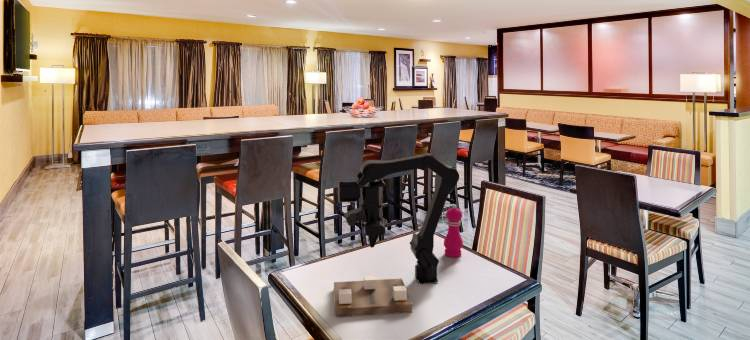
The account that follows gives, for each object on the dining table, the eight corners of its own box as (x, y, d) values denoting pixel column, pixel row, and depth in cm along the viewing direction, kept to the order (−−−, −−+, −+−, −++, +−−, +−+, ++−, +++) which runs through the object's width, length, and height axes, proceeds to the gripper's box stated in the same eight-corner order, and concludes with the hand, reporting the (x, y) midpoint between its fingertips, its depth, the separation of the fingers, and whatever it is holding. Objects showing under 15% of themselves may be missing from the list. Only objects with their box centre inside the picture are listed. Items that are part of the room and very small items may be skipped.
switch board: (401, 285, 143) (401, 278, 142) (412, 312, 126) (412, 304, 126) (334, 289, 140) (333, 281, 140) (335, 317, 124) (335, 308, 123)
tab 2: (375, 284, 137) (375, 275, 137) (376, 288, 134) (376, 279, 134) (363, 285, 137) (363, 276, 136) (364, 289, 134) (364, 280, 133)
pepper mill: (441, 256, 166) (442, 205, 162) (445, 249, 173) (446, 200, 169) (460, 259, 164) (462, 207, 160) (464, 252, 170) (465, 202, 166)
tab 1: (351, 298, 128) (350, 288, 128) (351, 303, 126) (351, 293, 125) (338, 299, 128) (338, 289, 127) (339, 304, 125) (338, 294, 125)
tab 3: (404, 295, 130) (405, 285, 130) (406, 300, 127) (406, 290, 127) (392, 295, 130) (392, 286, 129) (394, 300, 127) (394, 291, 126)
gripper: (343, 194, 147) (345, 238, 150) (347, 210, 129) (349, 260, 132) (376, 192, 148) (377, 236, 151) (385, 208, 130) (386, 257, 133)
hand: (372, 247), depth 142 cm, fingers closed
